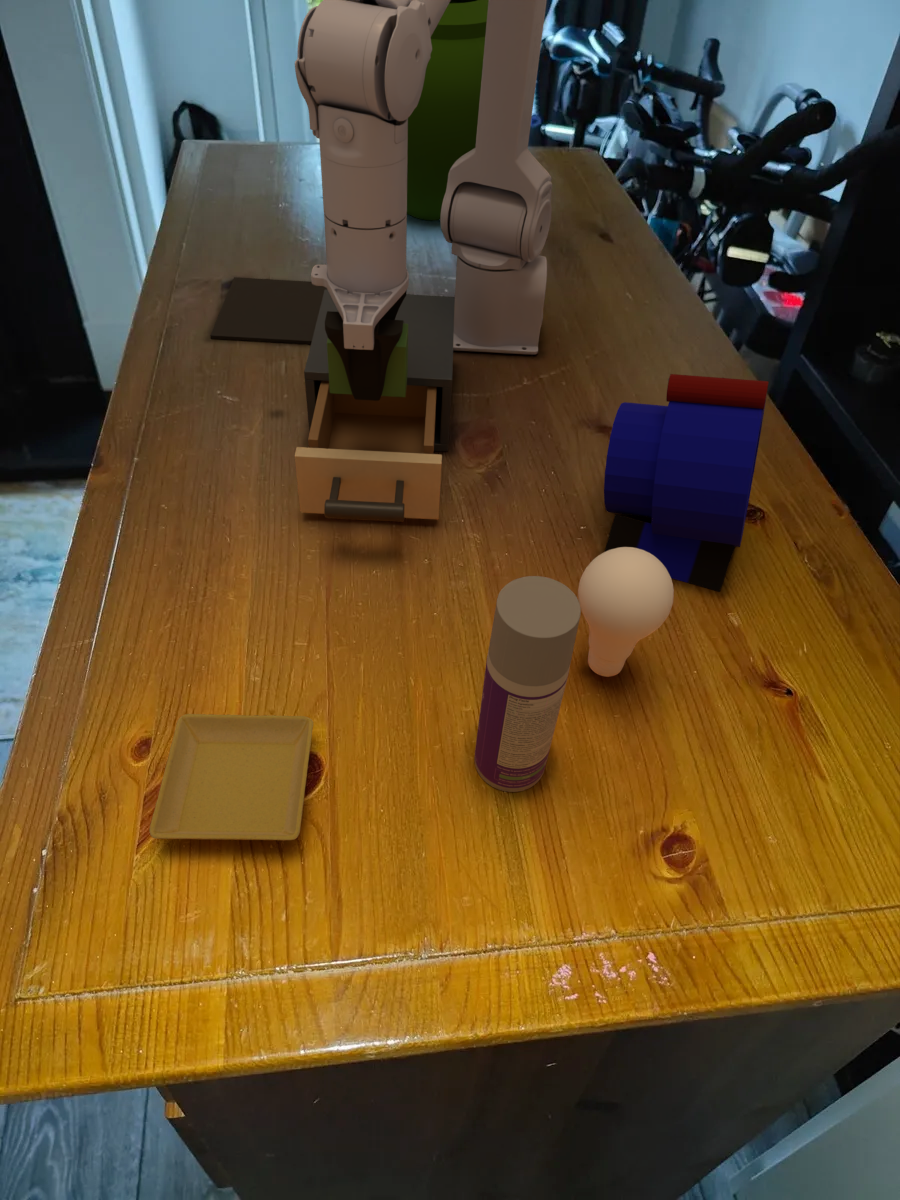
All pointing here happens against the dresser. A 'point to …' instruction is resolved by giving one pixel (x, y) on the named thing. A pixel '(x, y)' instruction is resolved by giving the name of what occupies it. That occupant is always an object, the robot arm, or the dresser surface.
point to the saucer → (234, 778)
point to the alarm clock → (686, 474)
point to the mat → (269, 311)
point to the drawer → (371, 457)
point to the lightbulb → (622, 604)
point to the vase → (446, 106)
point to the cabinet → (425, 354)
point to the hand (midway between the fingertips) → (369, 383)
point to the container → (525, 680)
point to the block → (394, 372)
